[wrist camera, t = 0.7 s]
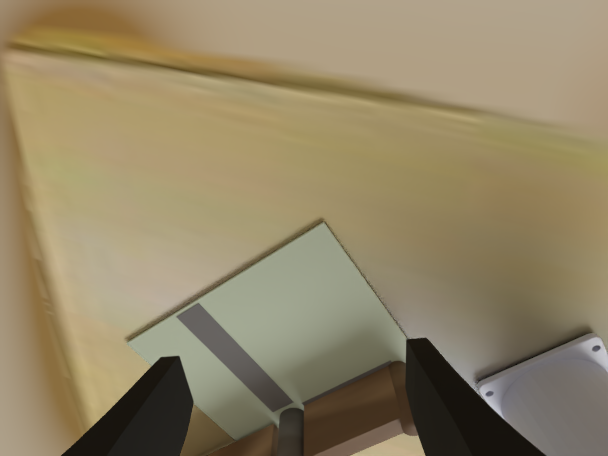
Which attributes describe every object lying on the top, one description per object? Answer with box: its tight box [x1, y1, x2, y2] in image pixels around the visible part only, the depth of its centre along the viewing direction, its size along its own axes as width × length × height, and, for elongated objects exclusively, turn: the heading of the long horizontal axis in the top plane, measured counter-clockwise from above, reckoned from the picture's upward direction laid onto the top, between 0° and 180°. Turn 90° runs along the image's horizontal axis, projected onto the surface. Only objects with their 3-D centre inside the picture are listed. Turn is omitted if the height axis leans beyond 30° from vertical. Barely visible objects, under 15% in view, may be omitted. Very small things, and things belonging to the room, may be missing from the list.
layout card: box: [127, 221, 407, 441], centre depth 24 cm, size 16×15×1 cm
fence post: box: [277, 361, 418, 456], centre depth 23 cm, size 2×10×4 cm, turn 124°
